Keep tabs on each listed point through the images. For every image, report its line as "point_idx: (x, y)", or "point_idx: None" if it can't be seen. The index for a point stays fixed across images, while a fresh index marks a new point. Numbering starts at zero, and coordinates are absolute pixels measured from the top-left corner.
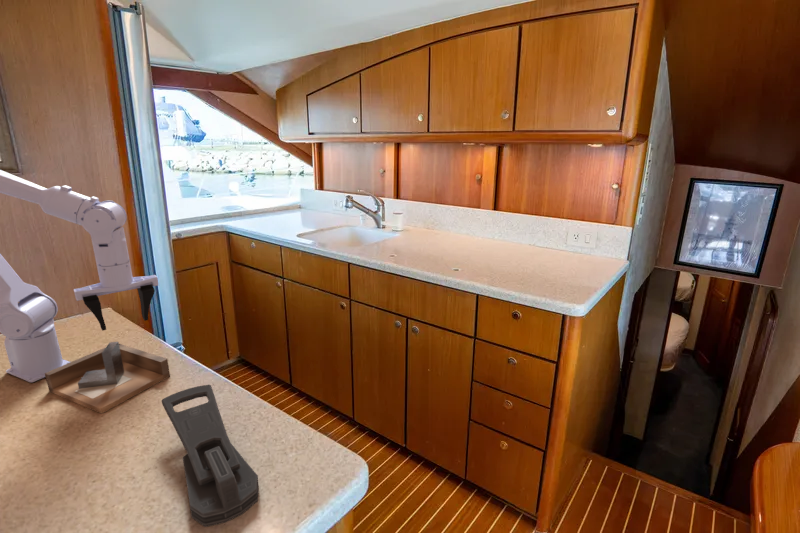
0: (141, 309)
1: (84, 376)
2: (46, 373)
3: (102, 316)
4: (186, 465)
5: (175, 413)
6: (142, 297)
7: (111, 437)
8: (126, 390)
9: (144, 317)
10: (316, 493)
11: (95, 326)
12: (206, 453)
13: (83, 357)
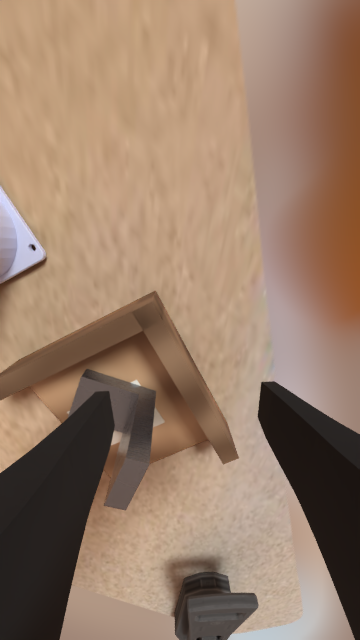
0: (285, 412)
1: (78, 397)
2: None
3: (87, 515)
4: (185, 609)
5: (195, 622)
6: (349, 613)
7: (124, 517)
8: (152, 451)
9: (265, 433)
10: (258, 624)
11: None
12: None
13: (64, 350)
